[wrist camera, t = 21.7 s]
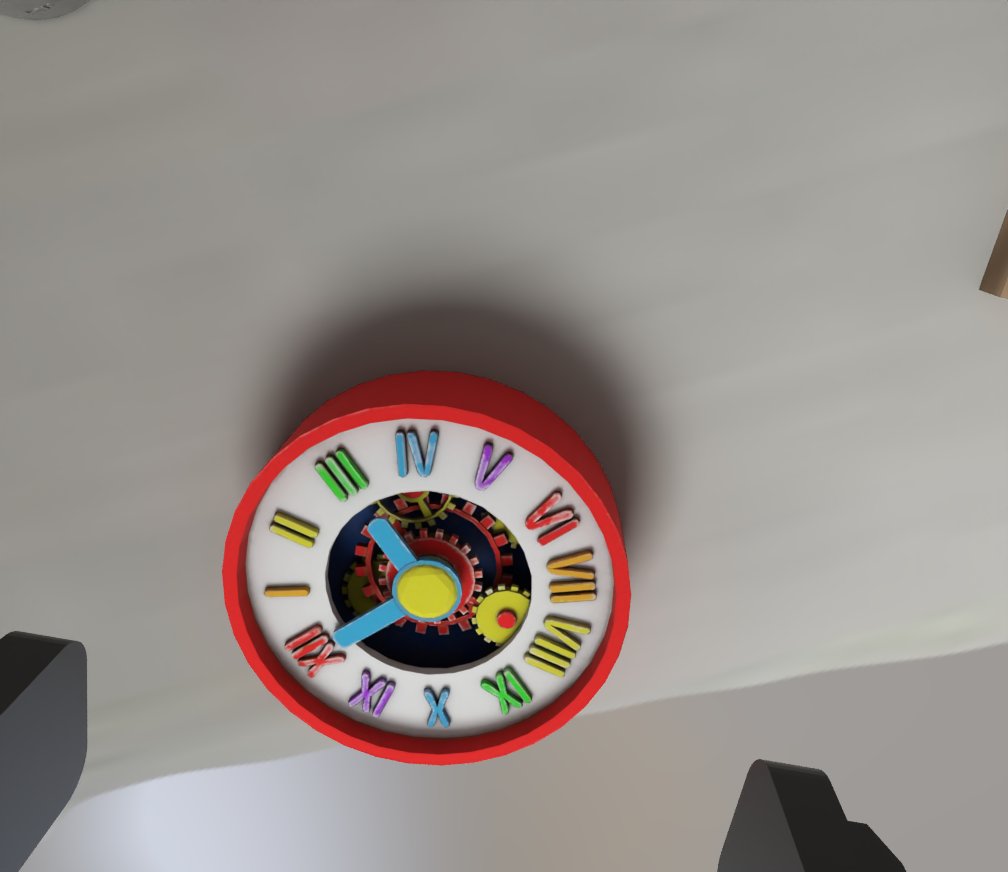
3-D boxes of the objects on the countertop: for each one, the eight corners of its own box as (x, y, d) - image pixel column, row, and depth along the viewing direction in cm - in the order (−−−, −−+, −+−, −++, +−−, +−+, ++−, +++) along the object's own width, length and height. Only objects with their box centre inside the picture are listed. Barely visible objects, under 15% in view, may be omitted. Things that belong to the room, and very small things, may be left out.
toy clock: (707, 657, 41) (380, 821, 46) (688, 596, 47) (398, 747, 51) (480, 318, 36) (137, 540, 41) (489, 294, 42) (186, 491, 46)
